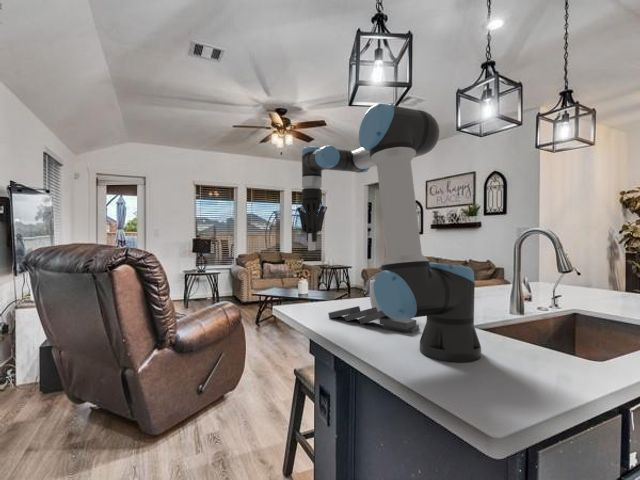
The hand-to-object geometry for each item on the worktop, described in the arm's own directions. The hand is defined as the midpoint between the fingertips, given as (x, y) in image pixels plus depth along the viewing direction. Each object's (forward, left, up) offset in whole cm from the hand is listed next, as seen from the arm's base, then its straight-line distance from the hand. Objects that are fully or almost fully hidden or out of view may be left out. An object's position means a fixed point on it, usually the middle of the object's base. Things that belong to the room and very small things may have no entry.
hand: (311, 250), depth 140 cm
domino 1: (-6, -8, -24) cm, 26 cm away
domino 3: (-15, -19, -23) cm, 33 cm away
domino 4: (-19, -24, -22) cm, 38 cm away
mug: (-4, -28, -25) cm, 37 cm away
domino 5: (-19, -25, -24) cm, 40 cm away
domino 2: (-11, -14, -24) cm, 29 cm away
